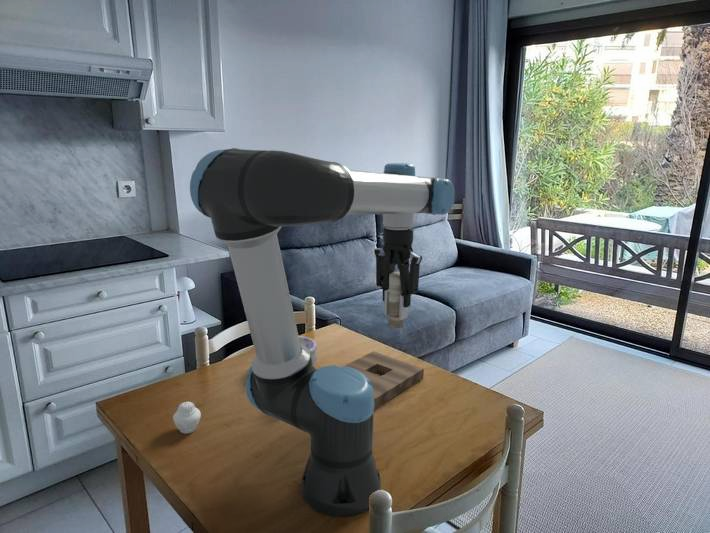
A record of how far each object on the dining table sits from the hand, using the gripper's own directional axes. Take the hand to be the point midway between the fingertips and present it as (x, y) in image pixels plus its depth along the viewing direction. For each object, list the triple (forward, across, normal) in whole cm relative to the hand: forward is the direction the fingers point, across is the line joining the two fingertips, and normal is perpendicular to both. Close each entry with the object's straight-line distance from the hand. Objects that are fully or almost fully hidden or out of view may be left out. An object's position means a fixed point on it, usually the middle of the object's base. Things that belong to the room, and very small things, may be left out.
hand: (395, 315), depth 129 cm
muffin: (+21, +23, +48) cm, 57 cm away
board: (+21, +7, +1) cm, 22 cm away
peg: (+3, 0, 0) cm, 3 cm away
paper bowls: (+21, +29, +11) cm, 38 cm away
